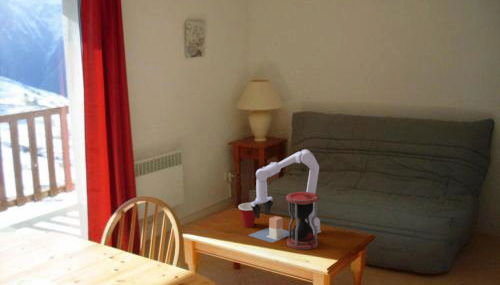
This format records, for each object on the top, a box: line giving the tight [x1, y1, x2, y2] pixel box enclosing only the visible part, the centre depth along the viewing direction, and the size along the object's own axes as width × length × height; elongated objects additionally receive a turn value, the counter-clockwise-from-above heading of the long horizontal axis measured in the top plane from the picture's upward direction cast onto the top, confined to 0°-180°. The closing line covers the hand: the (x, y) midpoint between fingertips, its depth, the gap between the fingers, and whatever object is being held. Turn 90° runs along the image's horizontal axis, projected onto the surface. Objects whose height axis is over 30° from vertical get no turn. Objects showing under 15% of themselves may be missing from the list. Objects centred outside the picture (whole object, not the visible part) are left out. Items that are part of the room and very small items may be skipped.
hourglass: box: [285, 191, 320, 250], centre depth 279 cm, size 16×16×25 cm
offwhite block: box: [268, 226, 284, 239], centre depth 291 cm, size 5×5×5 cm
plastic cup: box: [238, 202, 256, 228], centre depth 309 cm, size 11×11×12 cm
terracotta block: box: [268, 215, 284, 229], centre depth 290 cm, size 5×5×5 cm
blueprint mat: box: [247, 227, 292, 243], centre depth 295 cm, size 17×19×1 cm
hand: (262, 216), depth 297 cm, fingers open, 7 cm apart
